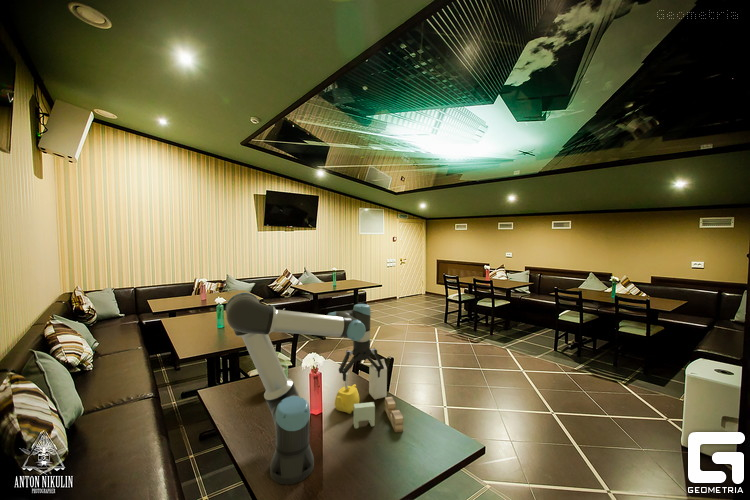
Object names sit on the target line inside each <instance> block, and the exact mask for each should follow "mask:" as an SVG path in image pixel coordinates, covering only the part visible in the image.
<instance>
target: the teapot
mask: <svg viewBox="0 0 750 500" xmlns="http://www.w3.org/2000/svg"><path fill="white" fill-rule="evenodd" d="M359 403H360V394H359V391H358V388H357V385H356V384H352V385H348V389H346V388H345V385H344V386H342V387H341V388H340V389H339V390H338V391H337V393H336V396H335V399H334V407H335V410H337V411H338V412H343V413H347V415H348V414H349V415H350V414H352V413H353V412H354V404H359Z"/></svg>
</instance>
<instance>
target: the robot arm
mask: <svg viewBox="0 0 750 500" xmlns="http://www.w3.org/2000/svg"><path fill="white" fill-rule="evenodd" d="M371 312H372V311H371V306H370V305H369V304H366V303H357V304H354V305H353V309H350V310H339V311H336V310H335V311H333V312H328V313H327V314H326V315H325V314H318V313H312V312H311V313H309V312H301V311H293V310H292V311H291V310H283V309H276V307H275V306H274V305H267V304H263V303H261V302H260V301H259V299H258V298H257V296H255V294H252V293H249V292H238V293H236V294H235V295H232V297H231V298H230V299H229V300H228V301H227V302H226V305H225V314H226V322H227V324H228V325H229V327H230V328H231V329H232V330H233V332H234V334H235V336H236V337H238V338H241V339H242V341H243V343H244V345H245V346H246V350H247V351H248V354H249V355H250V359H251V361H252V362H253V364H254V367H255V369H256V371H257V374H258V376H259V378H260V380H261V383H262V385H263V387H264V389H265V392H264V394H263V397H264V399H265V402H266V404H267V406H268V409H269V412H270V414H271V417H272V420H273V423H274V424H273V425H274V428H275V450H274V453H273V456H272V459H271V462H270V466H269V467H270V469H269V470H270V471H269V472H270V473H269V475H270V477H271V479H272V480H273V481H274V482H275V483H276V484H280V485H284V484H285V485H287V486H288V485H289V486H290V485H294V484H298V483H301V482H302V481H304V480H305V479H307V478H308V477H309V476H310V475H311V474H312V472H313V471H314V468H315V459H314V458H315V457H314V454H313V452H312V449H311V445H310V424H311V423H310V422H311V421H310V417H311V410H310V405H309V402H308V400H306V399H305V398H304V397H300V395H299V391H298V390H297V388H296V386H295V383H294V381H293V379H291V378H287V377H286V375H285V372H284V370H283V368H282V366H281V364H282V363H281V361H280V359H279V356H278V354H277V351H276V350H275V348H274V344H273V343H272V341H271V338H270V335H271V333H272V332H273V333H281V334H282V333H283V334H299V335H313V336H322V337H324V336H325V337H336V338H347V339H349V340H350V341H352V342H353V349H352V350H348V349H346V351H345V356H344V358H343V360H342V362H341V364H340V366H339V368H338V372H339V374H342V381H343V382H344V386H345V388H346V389H348V386H349V384H348V381H349V379H348V378H349V376H348V375H349V373H348V372H349V370H350V369H351V368H352V367H353V365H354V364H355V363H356V362H357V361H358V362H360V361H366V360H367V361H368V362H370V364H372V365H373V366H374V367H375V368H376V369H375V385H376V386H378V378H379V377H380V371H381V369H384V366H383V364H382V362H381V358H380V357H379V355H378V349H377V348H376V347H374V348H371V316H372V314H371ZM371 354H372V355H374V357H375V358H376V360H377V361H378V363H379V365H380V366H378V365H377V364H376V363H375V362H374V361H375V360H373V358H371V356H370V355H371ZM351 355H352V358H351V359H350V357H351ZM349 359H350V360H349ZM348 361H349V362H348ZM307 476H308V477H307ZM306 477H307V478H306Z"/></svg>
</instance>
